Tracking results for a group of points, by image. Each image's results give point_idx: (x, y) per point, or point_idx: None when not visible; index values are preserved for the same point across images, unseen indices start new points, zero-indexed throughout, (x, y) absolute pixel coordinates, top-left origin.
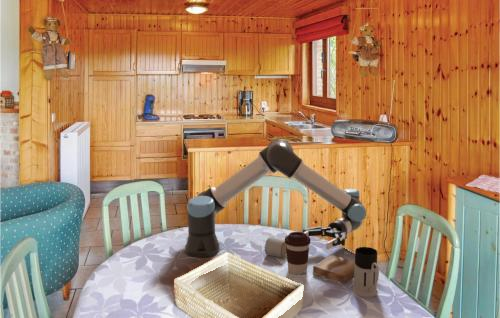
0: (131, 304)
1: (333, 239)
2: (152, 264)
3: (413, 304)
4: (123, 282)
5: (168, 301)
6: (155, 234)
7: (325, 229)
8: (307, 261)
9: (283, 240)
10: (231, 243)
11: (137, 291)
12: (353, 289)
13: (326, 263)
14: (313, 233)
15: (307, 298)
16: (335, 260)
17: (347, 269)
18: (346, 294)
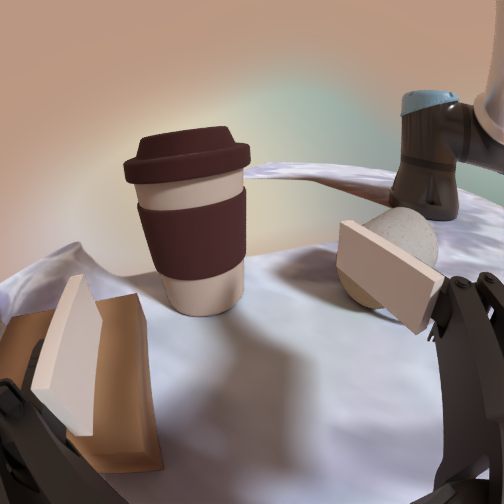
0: (263, 169)
1: (52, 350)
2: (369, 179)
3: None
4: (321, 169)
5: (247, 178)
6: (481, 197)
7: (493, 487)
8: (155, 266)
9: (386, 236)
10: (472, 239)
11: (291, 171)
12: (1, 322)
13: (101, 341)
14: (452, 356)
15: (88, 256)
16: None
17: (9, 356)
18: (17, 308)
